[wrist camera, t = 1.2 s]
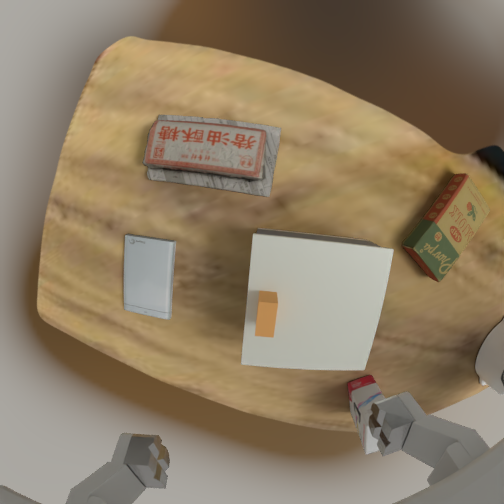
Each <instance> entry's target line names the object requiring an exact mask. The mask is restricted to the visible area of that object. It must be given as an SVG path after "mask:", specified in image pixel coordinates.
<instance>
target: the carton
mask: <svg viewBox="0 0 504 504" xmlns="http://www.w3.org/2000/svg"><path fill="white" fill-rule="evenodd" d="M489 211H490V209H489V207H488V205H487V204H486V202H485V200H484V199H483V197H482V195H481V194H480V192H479V191H478V189H477V187H476V186H475V184H474V183H473V181H472V180H471V179H470V177H469V176H468V174H455V175H454V176H453V177H452V179H451V180H450V182H449V183H448V184H447V186H446V187H445V189H444V190H443V191H442V193H441V194H440V196H439V197H438V198H437V200H436V201H435V202H434V204H433V205H432V206H431V208H430V209H429V210H428V212H427V213H426V214H425V216H424V217H423V218H422V219H421V221H420V222H419V223H418V224H417V226H416V227H415V228H414V229H413V231H412V232H411V233H410V234H409V235H408V237H407V238H406V239H405V240H404V241H403V242H402V244H403V245H402V246H403V248H404V249H405V250H406V251H407V252H408V253H409V254H410V256H411V257H412V258H413V259H414V260H415V261H416V262H417V263H418V265H419V266H420V267H421V268H422V269H423V271H424V272H425V273H426V274H427V275H428V276H429V277H430V278H431V279H433V280H435V281H437V282H440V281H441V280H442V279H443V277H444V276H445V275H446V274H447V272H448V271H449V270H450V268H451V267H452V266H453V264H454V263H455V262H456V260H457V259H458V258H459V256H460V255H461V253H462V252H463V251H464V249H465V248H466V246H467V245H468V243H469V242H470V240H471V239H472V237H473V236H474V235H475V233H476V232H477V230H478V228H479V227H480V225H481V224H482V222H483V221H484V219H485V217H486V216H487V214H488V213H489Z"/></svg>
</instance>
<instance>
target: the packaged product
mask: <svg viewBox="0 0 504 504" xmlns="http://www.w3.org/2000/svg"><path fill="white" fill-rule="evenodd" d="M280 132H281V128H277V127H272V126H267V125H261V124H253V123H246V122H239V121H232V120H223V119H215V118H206V119H205V118H203V117H191V116H175V115H159V117H158V120H157V121H155V122H154V123H153V125H152V128H151V129H150V132H149V134H148V140H147V146H146V149H145V156H144V159H143V164H144V165H145V166H147V167H148V172H147V175H148V178H149V180H155V181H167V182H174V183H180V184H187V185H197V186H203V187H208V188H214V189H221V190H228V191H234V192H240V193H245V194H251V195H257V196H266V197H269V196H270V192H271V188H272V182H273V174H274V169H275V164H276V160H277V154H278V148H279V142H280Z"/></svg>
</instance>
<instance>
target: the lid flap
mask: <svg viewBox="0 0 504 504" xmlns="http://www.w3.org/2000/svg"><path fill="white" fill-rule="evenodd" d="M393 251H394V249H392V248H385V247H376V246H368V245H359V244H351V243H342V242H333V241H324V240H315V239H305V238H296V237H286V236H276V235H266V234H256V233H253V240H252V251H251V262H250V272H249V283H248V294H247V305H246V316H245V326H244V337H243V348H242V359H241V364H242V365H251V366H262V367H274V368H289V369H309V370H364V369H365V366H366V363H367V360H368V357H369V354H370V350H371V347H372V343H373V340H374V336H375V333H376V329H377V325H378V321H379V318H380V314H381V309H382V305H383V301H384V297H385V292H386V288H387V283H388V278H389V273H390V268H391V262H392V257H393Z"/></svg>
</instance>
